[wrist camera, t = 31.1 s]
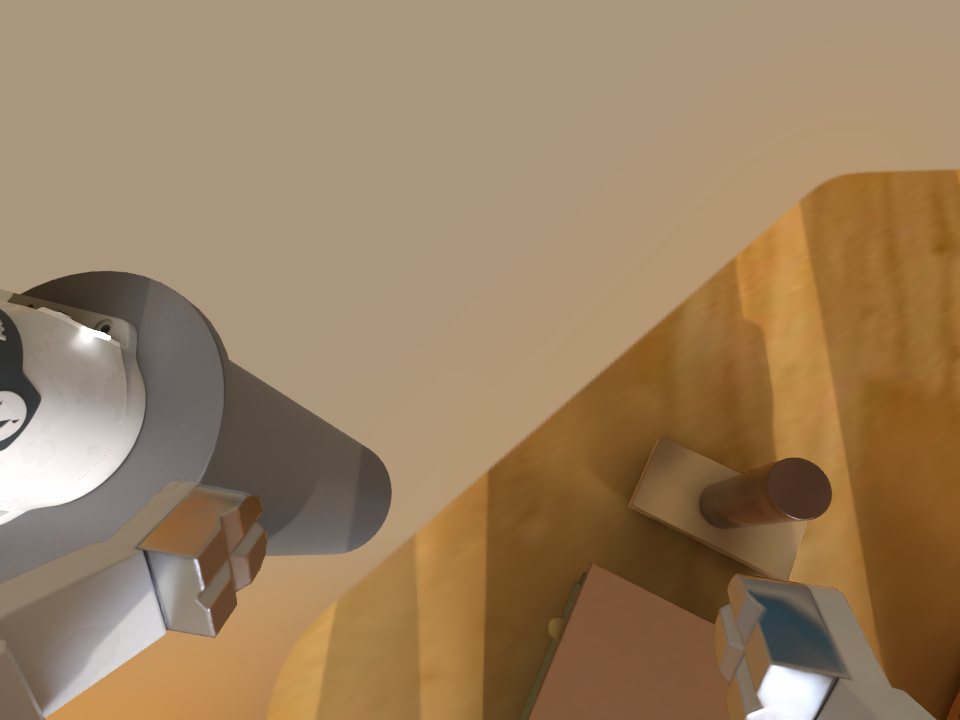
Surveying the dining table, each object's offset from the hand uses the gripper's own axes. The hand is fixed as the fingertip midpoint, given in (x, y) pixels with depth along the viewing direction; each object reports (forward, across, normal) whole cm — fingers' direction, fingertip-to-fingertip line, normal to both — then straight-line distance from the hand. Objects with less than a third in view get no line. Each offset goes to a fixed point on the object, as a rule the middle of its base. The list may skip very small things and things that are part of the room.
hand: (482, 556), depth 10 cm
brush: (+25, -13, +18) cm, 34 cm away
